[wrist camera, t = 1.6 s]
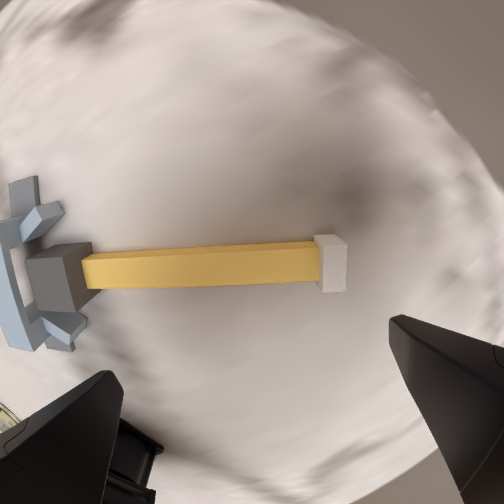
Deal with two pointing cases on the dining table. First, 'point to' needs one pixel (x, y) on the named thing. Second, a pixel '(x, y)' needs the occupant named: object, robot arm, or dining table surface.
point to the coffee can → (7, 419)
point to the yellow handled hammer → (181, 268)
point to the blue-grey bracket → (5, 284)
